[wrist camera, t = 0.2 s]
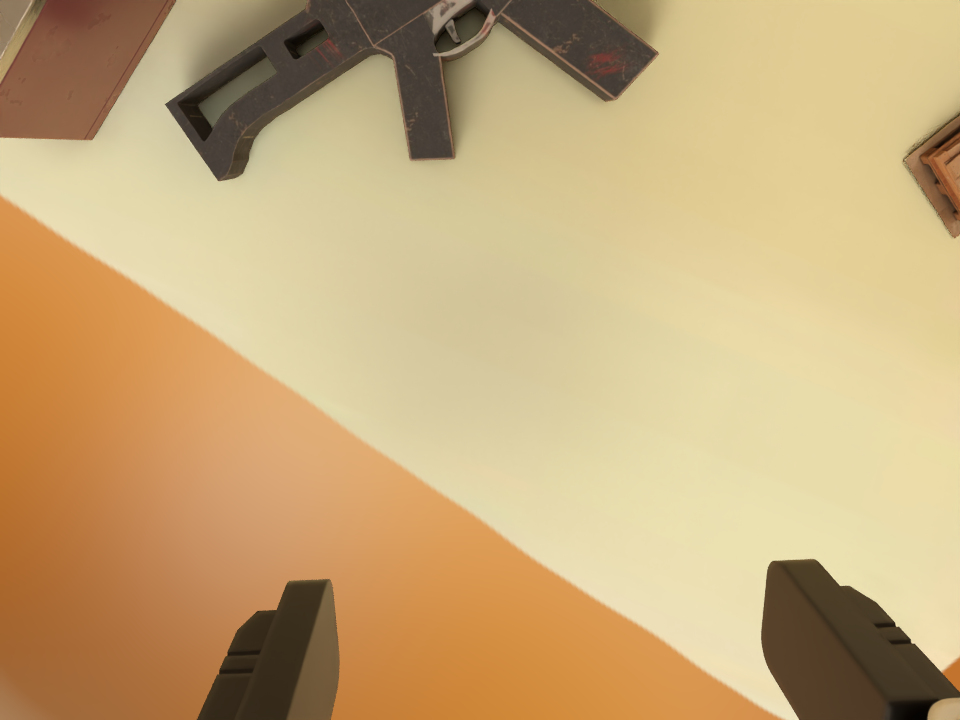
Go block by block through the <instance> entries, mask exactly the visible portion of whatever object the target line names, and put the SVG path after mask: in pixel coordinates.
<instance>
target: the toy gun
mask: <svg viewBox="0 0 960 720" xmlns="http://www.w3.org/2000/svg"><path fill="white" fill-rule="evenodd" d="M474 7H477V9H478V10H479V11H480V12H481V13H482V14H483V15H484V16H485V17H486V18H487V19H486V21H485V23H484V25H483V27H482V29H481V30H480V31H479V32H478V33H477V34H476V35H475V36H474V37H473V38H471V39H470V40H468V41H467V42H465V43H463V44H462V45H460V46H458V47H456V48H454V49H452V50H450V51H446V52H442V53H438V51H437V50H436V42H437V41H438V39H439V38H440V36H441V35H442V34H443V32H444V31H445V30H447V32H448V34H449V36H450V37H451V39H452V40H453V42H454V43H456V44H460V43H461V40H460V38H459V37H458V35H457V33H456V30H455V25H454V22H455V21H456V20H457V19H458V18H459V17H461V16H462V15H464V14H465V13H466V12H468V11H470V10H471V9H473V8H474ZM497 22H500V23H501V24H502V25H504V26H505V27H506V28H508V29H509V30H510V31H512V32H513V33H514V34H516V35H517V36H518V37H520V38H521V39H522V40H524V41H525V42H526V43H528V44H529V45H530V46H532V47H533V48H534V49H536V50H537V51H538V52H540V53H541V54H542V55H544V56H545V57H546V58H548V59H549V60H550V61H552V62H553V63H554V64H556V65H557V66H558V67H560V68H561V69H562V70H564V71H565V72H566V73H568V74H569V75H570V76H572V77H573V78H574V79H576V80H577V81H578V82H580V83H581V84H583V85H584V86H585V87H587V88H588V89H589V90H591V91H592V92H593V93H595V94H596V95H597V96H599V97H600V98H601V99H603V100H604V101H605V102H608V101H613V100H616V99H618V97H619V96H620V95H621V94H622V93H623V92H624V91H625V90H626V89H627V88H628V87H629V86H630V85H631V84H632V83H633V81H634V80H635V79H636V78H637V77H638V76H639V75H640V74H641V73H642V72H643V71H644V70H645V69H646V68H647V67H648V65H649V64H650V63H651V62H652V61H653V60H654V59H655V58H656V57H657V56H658V55H659V53H658V52H657V51H656V50H655V49H653V48H652V47H651V46H650V45H648V44H647V43H646V42H644V41H643V40H642V39H641V38H639V37H638V36H637V35H635V34H634V33H633V32H632V31H630V30H629V29H628V28H626V27H625V26H624V25H623V24H621V23H620V22H619V21H617V20H616V19H615V18H614V17H612V16H611V15H610V14H608V13H607V12H606V11H605V10H603V9H602V8H601V7H599V6H598V5H597V4H596V3H594V2H593V1H592V0H307V5H306V9H304V10H303V11H301V12H300V13H299V14H297V15H296V16H294V17H293V18H291V19H290V20H288V21H287V22H285V23H284V24H282V25H281V26H279V27H278V28H276V29H275V30H273V31H272V32H271V33H269V34H268V35H266V36H265V37H263V38H262V39H260V40H259V41H257V42H256V43H254V44H253V45H251V46H250V47H248V48H247V49H246V50H244V51H243V52H241V53H240V54H238V55H237V56H235V57H234V58H232V59H231V60H229V61H228V62H226V63H225V64H223V65H222V66H220V67H219V68H218V69H216V70H215V71H213V72H212V73H210V74H209V75H207V76H206V77H204V78H203V79H201V80H200V81H198V82H197V83H195V84H194V85H192V86H191V87H190V88H188V89H187V90H185V91H184V92H182V93H181V94H179V95H178V96H176V97H175V98H173V99H172V100H170V101H169V102H167V103H166V104H165V105H166V106H167V108H168V109H169V111H170V112H171V114H172V115H173V116H174V118H175V119H176V121H177V122H178V124H179V125H180V127H181V128H182V129H183V131H184V132H185V134H186V135H187V137H188V138H189V139H190V141H191V142H192V144H193V145H194V147H195V148H196V150H197V151H198V152H199V154H200V155H201V157H202V158H203V160H204V161H205V163H206V164H207V165H208V167H209V168H210V170H211V171H212V173H213V174H214V175H215V177H216V178H217V180H218V181H223V180H228V179H233V178H236V177H238V176H239V175H241V174H242V173H243V171H244V169H245V167H246V164H247V162H248V159H249V151H250V149H251V146H252V144H253V141H254V139H255V137H256V136H257V135H258V133H259V132H260V131H261V129H262V128H264V127H265V126H266V125H267V124H268V123H270V122H271V121H272V120H273V119H275V118H276V117H277V116H278V115H280V114H282V113H284V112H286V111H287V110H289V109H290V108H292V107H293V106H295V105H296V104H298V103H299V102H301V101H302V100H304V99H305V98H307V97H308V96H310V95H311V94H313V93H314V92H316V91H317V90H319V89H320V88H322V87H323V86H325V85H326V84H328V83H329V82H331V81H332V80H334V79H335V78H337V77H338V76H340V75H341V74H343V73H344V72H346V71H347V70H349V69H350V68H352V67H353V66H355V65H356V64H358V63H359V62H361V61H362V60H364V59H366V58H368V57H369V56H371V55H376V54H382V55H385V56H388V57H390V58H392V59H393V61H394V67H395V73H396V79H397V85H398V91H399V97H400V103H401V109H402V115H403V121H404V127H405V133H406V139H407V145H408V151H409V157H410V160H411V161H419V160H445V159H454V158H455V152H454V144H453V137H452V130H451V123H450V116H449V109H448V102H447V95H446V88H445V81H444V74H443V67H442V62H446V61H452V60H455V59H458V58H460V57H463V56H464V55H466V54H467V53H469V52H470V51H472V50H473V49H475V48H476V47H478V46H480V45H481V44H482V43H483V41H484V40H485V39H486V38H487V36H488V35H489V33H490V31H491V29H492V27H493V26H494V25H495V24H496V23H497ZM324 28H325V30H326V32H327V33H328V39H327V40H326V41H324V42H323V43H321V44H320V45H318V46H317V47H315V48H314V49H312V50H311V51H309V52H308V53H306V54H305V55H303V56H302V57H300V55H299V54H298V52H297V47H298V46H299V45H300V44H302V43H303V42H305V41H306V40H308V39H309V38H311V37H312V36H314V35H315V34H317V33H318V32H320V31H321V30H323V29H324ZM265 57H268V58H269V60H270V61H271V63H272V64H273V66H274V68H275V69H276V71H277V73H276V74H275V75H274V76H272V77H271V78H269V79H268V80H266V81H265V82H263V83H262V84H260V85H259V86H257V87H255V88H254V89H252V90H251V91H249V92H248V93H246V94H245V95H244V96H242V97H241V98H240V99H238V100H237V101H236V102H234V103H233V104H232V105H231V106H230V107H229V108H228V109H227V110H226V111H225V112H224V113H223V114H222V115H221V117H220V118H219V120H218V121H217V122H216V124H215V125H214V128H213V129H212V127H211V126H210V124H209V123H208V121H207V120H206V119H205V117H204V116H203V114H202V113H201V111H200V110H199V108H198V107H197V105H198V104H199V103H200V102H202V101H203V100H204V99H206V98H207V97H208V96H210V95H211V94H213V93H214V92H215V91H217V90H218V89H220V88H221V87H222V86H224V85H225V84H227V83H228V82H230V81H231V80H233V79H234V78H236V77H237V76H238V75H240V74H241V73H243V72H244V71H246V70H247V69H249V68H250V67H252V66H253V65H255V64H256V63H258V62H259V61H261V60H262V59H264V58H265Z"/></svg>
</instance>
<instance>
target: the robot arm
mask: <svg viewBox="0 0 960 720" xmlns="http://www.w3.org/2000/svg"><path fill="white" fill-rule="evenodd" d="M336 626H337V625H336V616H335V605H334V595H333V587H332V583H331V580H330V579H323V580H300V581H289V582H288V583H287V585H286V587H285V590H284V592H283V595H282V597H281V600H280V603H279V605H278V608H277V610H269V611H257V612H256V613H255V614H254V615H253V616H252V617H251V618H250V619H249V620H248V621H247V622H246V623H245V624H244V625H242V626H241V627H240V628H239V629H238V630H237V633H236V634H235V637H234V639H233V641H232V643H231V646H230V648H229V650H228V655H227V656H226V657H225V659H224V661H223V663H222V666H221V668H220V670H219V675H217V676H216V679H215V681H214V683H213V685H212V688H211V690H210V692H209V694H208V696H207V699H206V701H205V703H204V705H203V708H202V710H201V712H200V714H199V717H198V719H197V720H331V715H332V711H333V706H334V702H335V697H336V693H337V688H338V679H339V646H338V636H337V627H336ZM761 640H762V648H763V653H764V657H765V660H766V663H767V666H768V668H769V670H770V672H771V673H772V675H773V677H774V678H775V680H776V682H777V683H778V685H779V687H780V688H781V690H782V692H783V693H784V695H785V697H786V698H787V700H788V702H789V703H790V705H791V707H792V708H793V710H794V712H795V713H796V715H797V717H798V718H799V720H960V692H959V691H958V690H957V689H956V688H955V687H954V686H953V684H952V683H951V682H950V681H949V680H948V679H947V678H946V677H945V676H944V675H943V674H942V673H941V672H940V670H939V669H938V668H937V667H936V666H935V665H934V664H933V663H932V662H931V661H930V660H929V659H928V658H927V656H926V655H925V654H924V653H923V652H922V651H921V650H920V649H919V648H918V647H917V646H916V645H915V644H912V643H911V639H910V638H909V637H908V636H907V635H906V634H905V633H904V632H903V631H902V630H901V629H900V627H896V625H895V622H894V621H893V620H892V619H891V618H890V617H889V616H888V615H887V613H886V612H885V611H884V610H883V609H882V608H881V607H880V606H879V605H878V604H877V603H876V602H875V601H873V600H871V599H870V598H868V597H866V596H865V595H863V594H862V593H860V592H858V591H857V590H855V589H853V588H852V587H850V586H839V584H838V583H837V582H836V581H835V580H834V579H833V578H832V576H831V575H830V574H829V573H828V572H827V571H826V570H825V569H824V567H823V566H822V565H821V564H820V563H819V562H818V561H816V560H814V559H805V560H782V561H772V562H771V563H770V565H769V567H768V570H767V579H766V589H765V600H764V610H763V620H762V631H761Z"/></svg>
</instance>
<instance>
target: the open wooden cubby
mask: <svg viewBox="0 0 960 720" xmlns="http://www.w3.org/2000/svg"><path fill="white" fill-rule="evenodd" d="M175 1H176V0H47V1H46V3H45V5H44V7H43V8H42V10H41V12H40V14H39V16H38V17H37V19H36V21H35V23H34V24H33V26H32V28H31V30H30V32H29V33H28V35H27V37H26V39H25V41H24V42H23V44H22V46H21V48H20V49H19V51H18V53H17V55H16V57H15V58H14V60H13V62H12V64H11V66H10V67H9V69H8V71H7V73H6V74H5V76H4V78H3V80H2V82H1V83H0V138H34V139H69V140H92V139H93V138H94V136H95V134H96V133H97V131H98V129H99V128H100V126H101V124H102V123H103V121H104V119H105V118H106V116H107V114H108V113H109V111H110V109H111V108H112V106H113V104H114V103H115V101H116V100H117V98H118V96H119V95H120V93H121V91H122V90H123V88H124V86H125V85H126V83H127V81H128V80H129V78H130V76H131V75H132V73H133V71H134V70H135V68H136V66H137V65H138V63H139V61H140V60H141V58H142V56H143V55H144V53H145V51H146V50H147V48H148V46H149V45H150V43H151V41H152V40H153V38H154V36H155V35H156V33H157V31H158V30H159V28H160V26H161V25H162V23H163V21H164V20H165V18H166V16H167V15H168V13H169V11H170V10H171V8H172V6H173V5H174V3H175Z"/></svg>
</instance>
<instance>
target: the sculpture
mask: <svg viewBox="0 0 960 720" xmlns="http://www.w3.org/2000/svg"><path fill="white" fill-rule="evenodd" d="M906 163H907V164H908V166H909V167H910V169H911V170H912V173H913V174H914V176H915V177H916V179H917V180H918V182H919V184H920V186H922V188H923V190H924V191H925V193H926V194H927V196H928V198H929V200H930V201H931V203H932V204H933V206H934V208H936V210H937V212H938V214H939V215H940V217H941V219H942V220H943V221H944V224H945V225H946V226H947V228H948V229H949V231H950V233H951V234H952V235H953V237H954V238H956V236H959V234H960V115H959V116H958V117H957V118H955V119H954V120H953V121H951V122H950V123H949V124H948V125H946V126H945V127H944V128H943V129H941V130H940V131H939V132H938V133H937V134H935V135H934V136H933V137H931V138H930V139H929V140H928V141H927V142H926V143H924V145H922V146H921V147H919V148H918V149H916V151H914V152H913V153H912V154H911V155H909V156H908V157H907V158H906Z"/></svg>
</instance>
